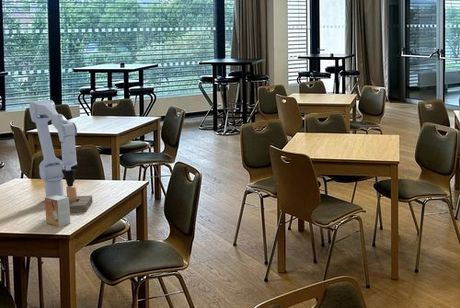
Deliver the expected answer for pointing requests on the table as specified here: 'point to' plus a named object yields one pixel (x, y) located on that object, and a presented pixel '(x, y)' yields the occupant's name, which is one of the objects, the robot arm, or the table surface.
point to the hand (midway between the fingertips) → (71, 183)
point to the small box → (57, 210)
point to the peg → (71, 193)
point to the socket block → (80, 204)
